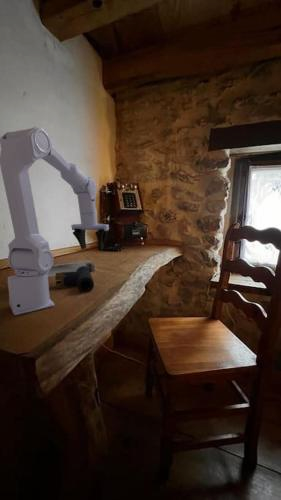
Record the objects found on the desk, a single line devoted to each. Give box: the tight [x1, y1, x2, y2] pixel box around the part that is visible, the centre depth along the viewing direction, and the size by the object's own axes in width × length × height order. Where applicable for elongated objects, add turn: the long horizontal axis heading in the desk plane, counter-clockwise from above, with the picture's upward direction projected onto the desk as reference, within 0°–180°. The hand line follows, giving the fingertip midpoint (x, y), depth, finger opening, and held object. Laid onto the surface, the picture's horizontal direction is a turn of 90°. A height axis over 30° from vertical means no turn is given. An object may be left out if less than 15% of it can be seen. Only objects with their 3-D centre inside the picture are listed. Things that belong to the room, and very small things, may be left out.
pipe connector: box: [54, 266, 95, 293], centre depth 77 cm, size 12×5×15 cm
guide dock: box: [48, 259, 95, 278], centre depth 91 cm, size 20×4×4 cm, turn 126°
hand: (92, 248), depth 86 cm, fingers open, 7 cm apart
